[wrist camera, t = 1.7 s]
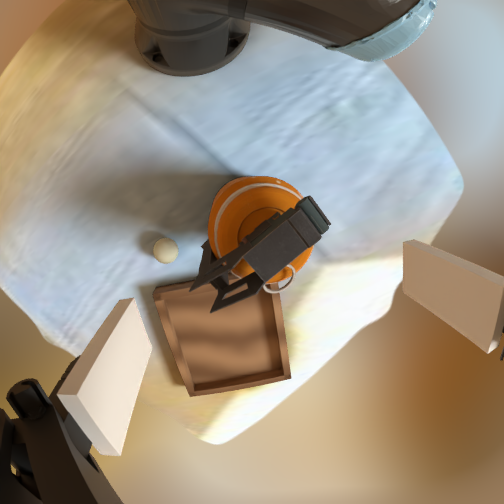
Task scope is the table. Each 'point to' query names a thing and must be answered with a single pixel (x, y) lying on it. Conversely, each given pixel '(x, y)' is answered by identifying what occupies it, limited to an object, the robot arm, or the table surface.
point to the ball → (165, 250)
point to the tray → (224, 337)
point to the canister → (257, 237)
